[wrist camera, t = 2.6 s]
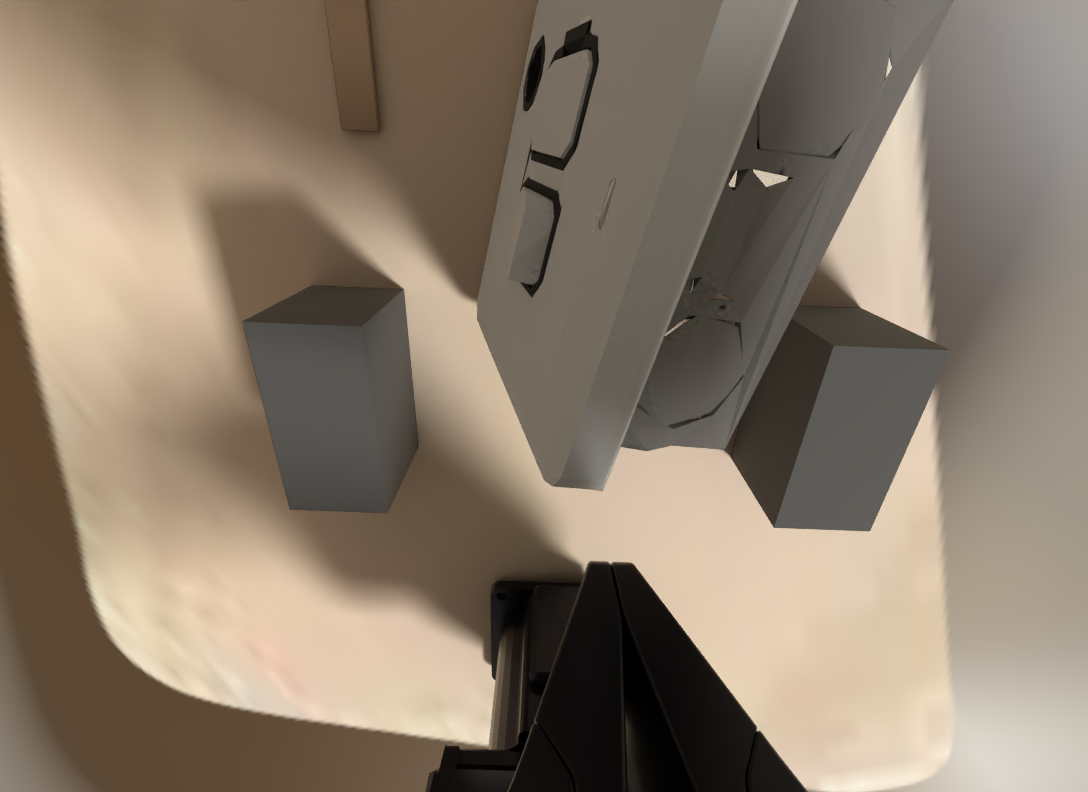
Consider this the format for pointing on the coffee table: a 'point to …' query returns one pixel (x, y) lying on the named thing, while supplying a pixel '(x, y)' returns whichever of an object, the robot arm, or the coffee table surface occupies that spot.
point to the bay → (353, 64)
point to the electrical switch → (676, 206)
